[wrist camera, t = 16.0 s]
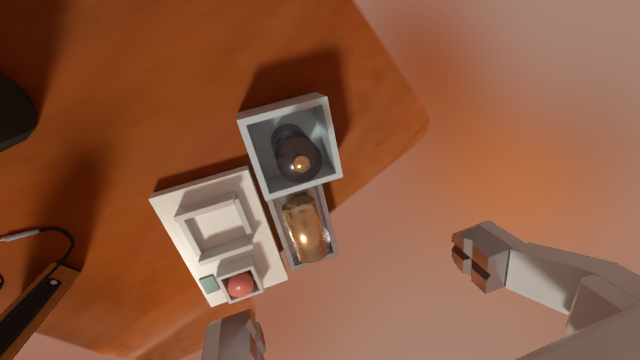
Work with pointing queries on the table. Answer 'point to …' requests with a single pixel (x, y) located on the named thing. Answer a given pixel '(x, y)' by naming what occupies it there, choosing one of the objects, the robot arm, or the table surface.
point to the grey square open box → (310, 118)
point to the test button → (241, 284)
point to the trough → (283, 230)
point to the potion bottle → (14, 114)
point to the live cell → (305, 228)
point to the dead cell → (295, 154)
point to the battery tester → (221, 232)
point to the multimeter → (33, 301)
